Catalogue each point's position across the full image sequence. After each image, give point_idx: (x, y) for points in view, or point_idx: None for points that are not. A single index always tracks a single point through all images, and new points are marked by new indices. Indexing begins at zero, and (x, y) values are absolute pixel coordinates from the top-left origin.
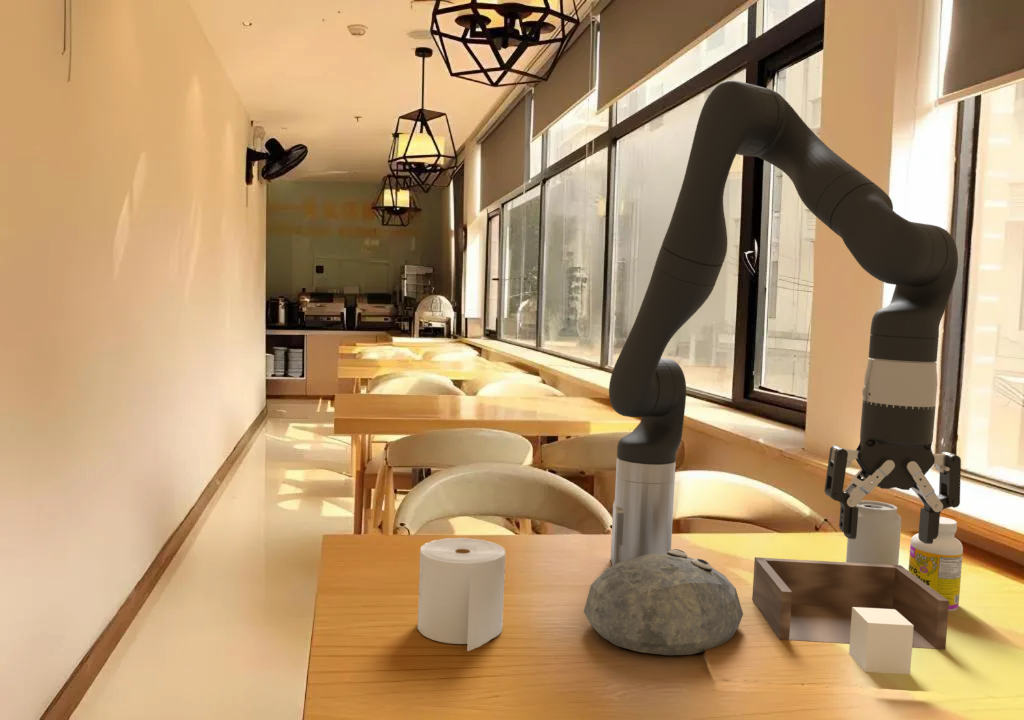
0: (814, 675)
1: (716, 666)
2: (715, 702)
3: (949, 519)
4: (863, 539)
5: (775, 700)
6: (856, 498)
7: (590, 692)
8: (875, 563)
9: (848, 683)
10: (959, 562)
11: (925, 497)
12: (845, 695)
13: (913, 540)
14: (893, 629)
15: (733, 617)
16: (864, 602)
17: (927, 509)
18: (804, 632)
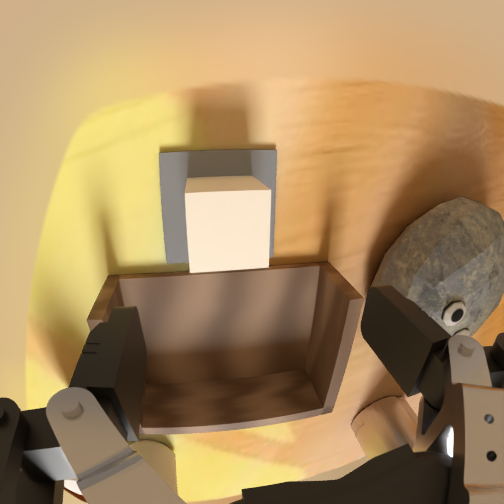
0: (316, 175)
1: (412, 188)
2: (430, 105)
3: (70, 488)
4: (164, 481)
5: (381, 105)
6: (467, 359)
7: (494, 133)
8: (149, 458)
9: (280, 155)
10: None
11: (132, 451)
12: (297, 119)
13: None
14: (222, 189)
15: (406, 256)
16: (180, 388)
17: (116, 417)
18: (289, 295)
